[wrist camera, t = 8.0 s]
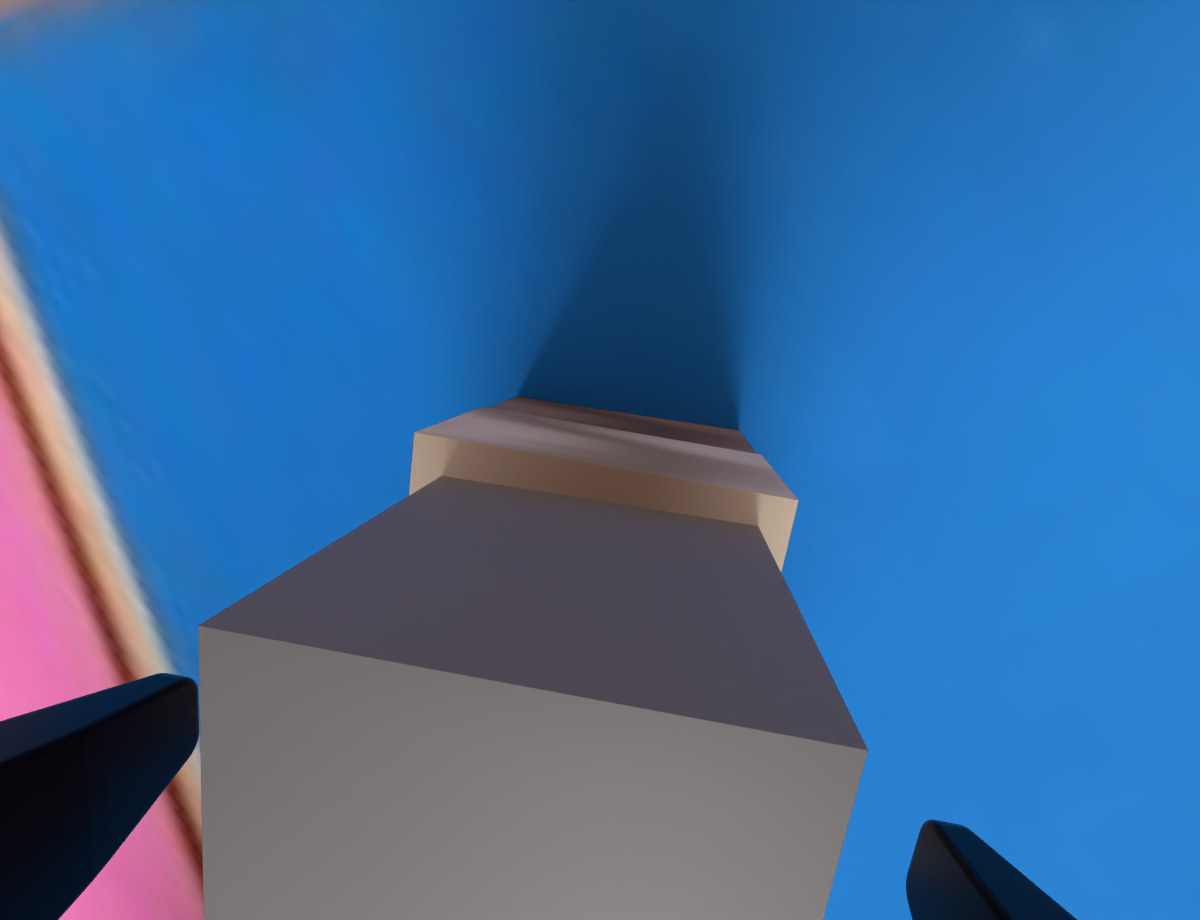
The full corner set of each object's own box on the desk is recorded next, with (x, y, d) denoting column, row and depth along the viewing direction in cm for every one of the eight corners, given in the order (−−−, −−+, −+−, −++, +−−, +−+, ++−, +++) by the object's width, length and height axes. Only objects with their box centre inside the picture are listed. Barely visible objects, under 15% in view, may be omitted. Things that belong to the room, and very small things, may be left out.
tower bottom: (496, 596, 17) (455, 659, 14) (518, 396, 16) (479, 411, 13) (698, 632, 17) (706, 707, 14) (738, 429, 16) (758, 455, 12)
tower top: (454, 655, 14) (386, 757, 11) (482, 407, 13) (414, 432, 9) (705, 706, 14) (719, 831, 10) (761, 455, 12) (799, 500, 9)
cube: (421, 746, 10) (208, 1103, 6) (441, 475, 9) (198, 625, 4) (702, 802, 10) (737, 1238, 5) (758, 525, 9) (867, 750, 4)
